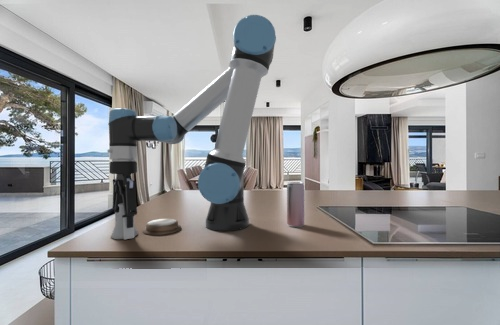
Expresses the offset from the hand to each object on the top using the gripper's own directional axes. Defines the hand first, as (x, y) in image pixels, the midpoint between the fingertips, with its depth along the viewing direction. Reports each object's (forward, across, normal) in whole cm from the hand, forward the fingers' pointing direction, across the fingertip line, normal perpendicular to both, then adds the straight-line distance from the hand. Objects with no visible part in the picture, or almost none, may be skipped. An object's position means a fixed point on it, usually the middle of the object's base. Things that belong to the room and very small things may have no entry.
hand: (124, 235), depth 78 cm
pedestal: (0, +2, +11) cm, 12 cm away
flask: (+1, 0, 0) cm, 1 cm away
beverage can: (0, +29, +47) cm, 56 cm away
